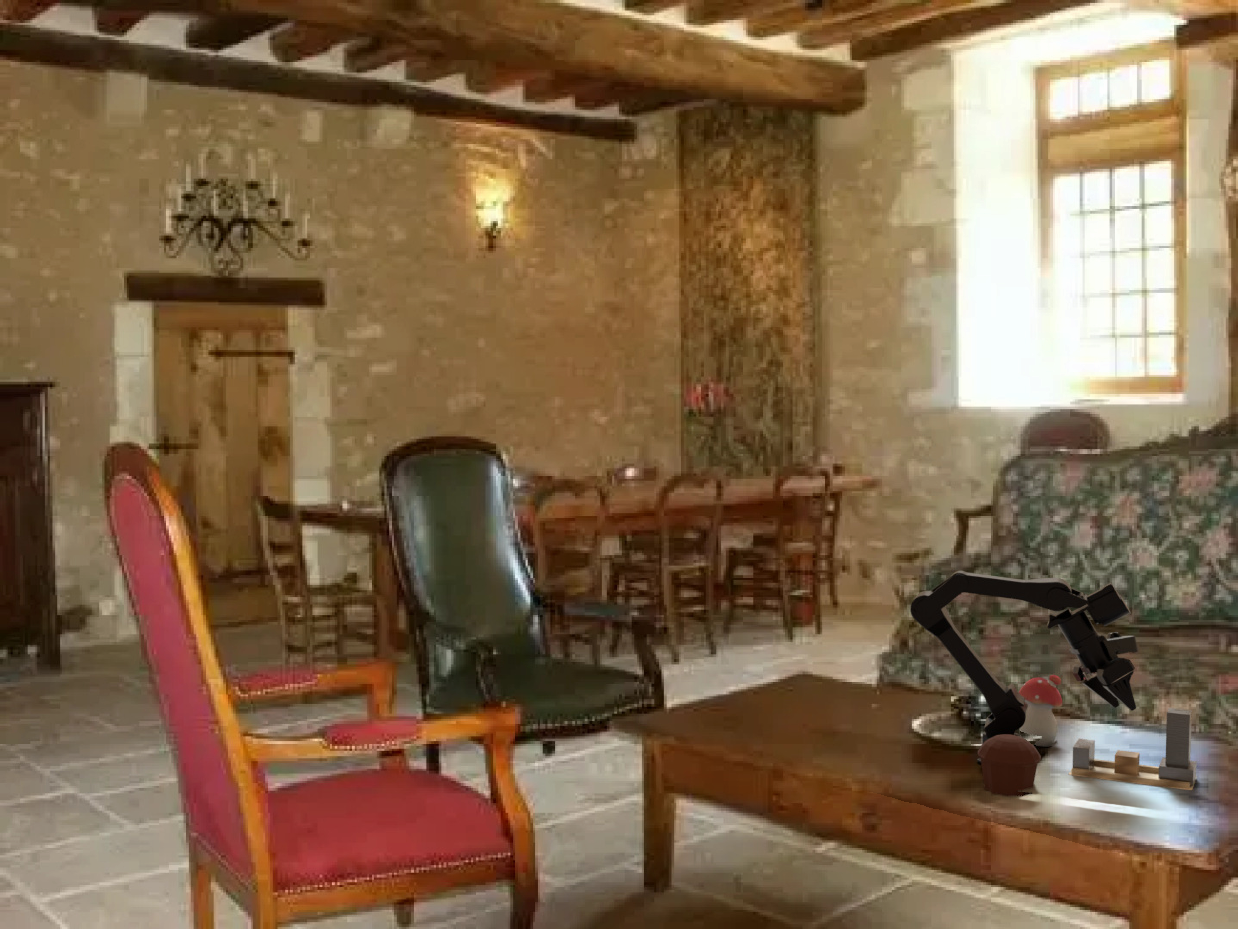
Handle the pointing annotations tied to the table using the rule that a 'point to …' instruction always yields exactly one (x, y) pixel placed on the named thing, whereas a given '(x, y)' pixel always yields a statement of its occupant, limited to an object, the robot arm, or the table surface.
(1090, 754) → the block
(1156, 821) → the table surface
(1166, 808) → the table surface
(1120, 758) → the walnut block
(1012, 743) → the muffin
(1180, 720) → the block
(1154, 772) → the wooden tray
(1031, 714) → the decorative ornament
